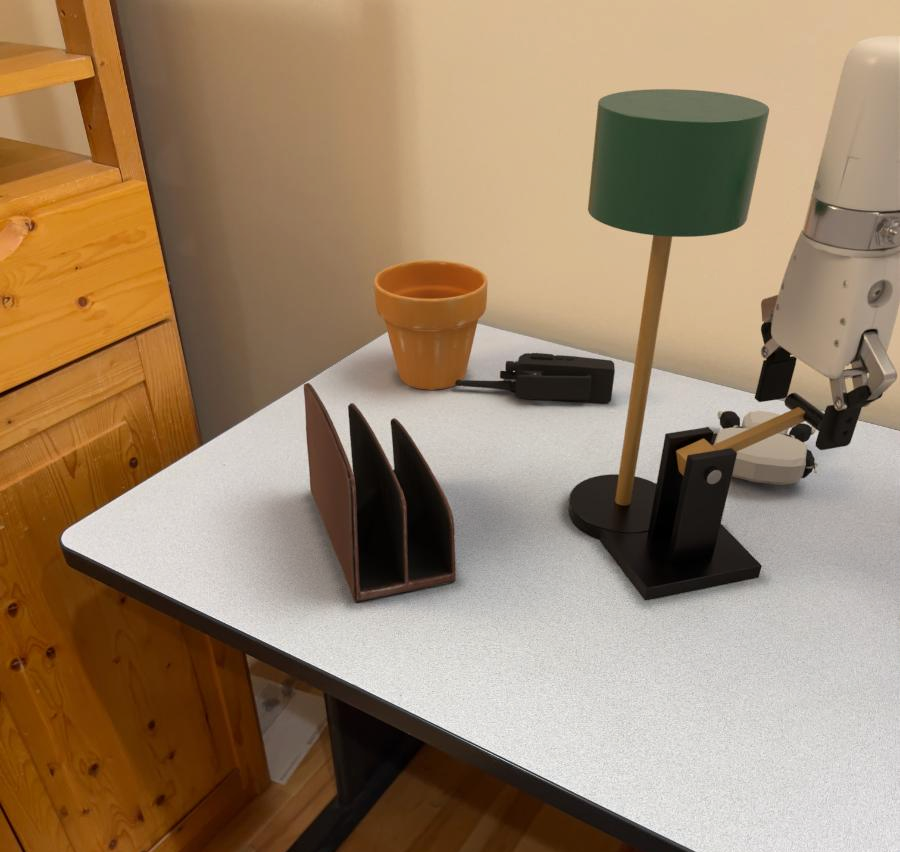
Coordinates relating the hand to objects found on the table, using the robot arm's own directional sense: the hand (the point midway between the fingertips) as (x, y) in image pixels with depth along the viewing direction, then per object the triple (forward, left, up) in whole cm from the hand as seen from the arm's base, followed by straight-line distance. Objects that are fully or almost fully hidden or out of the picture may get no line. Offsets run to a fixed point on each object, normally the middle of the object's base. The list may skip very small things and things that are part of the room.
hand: (799, 421), depth 80 cm
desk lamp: (+14, -5, -13) cm, 20 cm away
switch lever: (+5, +1, -2) cm, 5 cm away
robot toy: (-4, -15, -14) cm, 21 cm away
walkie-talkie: (+20, -30, -11) cm, 38 cm away
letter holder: (+39, -2, -14) cm, 41 cm away
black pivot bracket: (+10, +3, -13) cm, 17 cm away
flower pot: (+33, -39, -14) cm, 53 cm away
